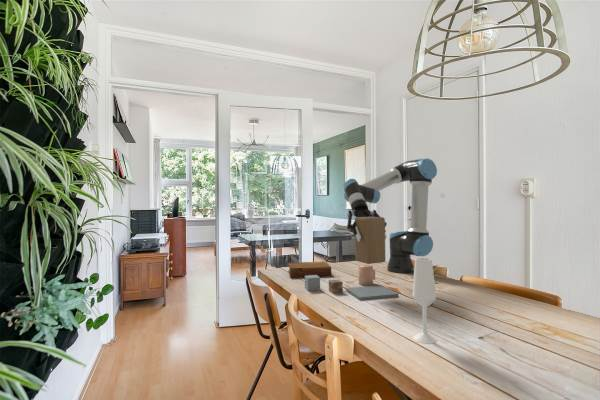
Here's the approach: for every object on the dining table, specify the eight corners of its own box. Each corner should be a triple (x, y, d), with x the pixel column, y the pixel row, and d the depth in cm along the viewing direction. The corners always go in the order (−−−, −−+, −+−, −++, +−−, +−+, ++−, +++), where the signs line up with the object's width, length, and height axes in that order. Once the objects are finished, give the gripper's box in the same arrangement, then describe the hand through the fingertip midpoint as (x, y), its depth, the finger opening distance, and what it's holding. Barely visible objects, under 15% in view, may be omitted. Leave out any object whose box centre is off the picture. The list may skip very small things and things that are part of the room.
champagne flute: (421, 332, 108) (419, 256, 108) (441, 339, 102) (439, 258, 103) (408, 338, 104) (407, 258, 104) (429, 345, 98) (427, 261, 98)
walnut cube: (339, 290, 162) (338, 279, 162) (342, 292, 157) (342, 281, 157) (328, 290, 161) (328, 280, 161) (332, 293, 156) (332, 282, 156)
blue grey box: (316, 287, 168) (316, 274, 168) (320, 290, 162) (320, 277, 162) (304, 288, 167) (304, 275, 167) (307, 291, 161) (307, 278, 161)
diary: (290, 279, 189) (290, 268, 189) (288, 272, 207) (287, 262, 207) (331, 277, 191) (331, 266, 191) (325, 270, 210) (325, 261, 210)
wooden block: (354, 261, 157) (353, 217, 157) (372, 259, 161) (371, 216, 161) (367, 264, 147) (367, 218, 147) (386, 262, 152) (385, 217, 152)
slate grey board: (381, 287, 164) (381, 285, 164) (398, 296, 148) (398, 293, 148) (345, 290, 160) (345, 288, 160) (359, 300, 144) (359, 297, 144)
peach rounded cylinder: (362, 286, 168) (361, 267, 168) (356, 283, 174) (356, 265, 174) (377, 285, 169) (377, 266, 169) (371, 281, 176) (371, 264, 176)
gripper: (378, 209, 172) (394, 243, 157) (333, 210, 166) (345, 245, 151) (383, 198, 167) (399, 232, 152) (336, 199, 161) (349, 234, 146)
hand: (372, 239), depth 151 cm, fingers closed on wooden block, 11 cm apart
